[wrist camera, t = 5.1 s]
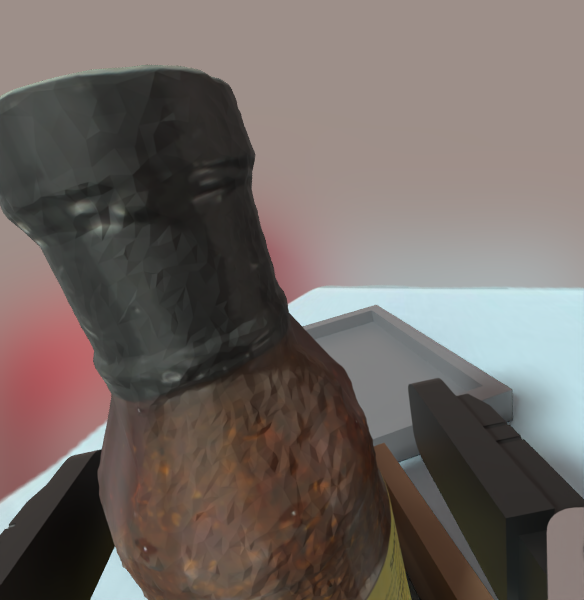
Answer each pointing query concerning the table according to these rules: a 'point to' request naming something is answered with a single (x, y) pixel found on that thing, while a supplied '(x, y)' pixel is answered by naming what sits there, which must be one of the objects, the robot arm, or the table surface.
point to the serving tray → (399, 372)
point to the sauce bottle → (196, 346)
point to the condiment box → (426, 541)
